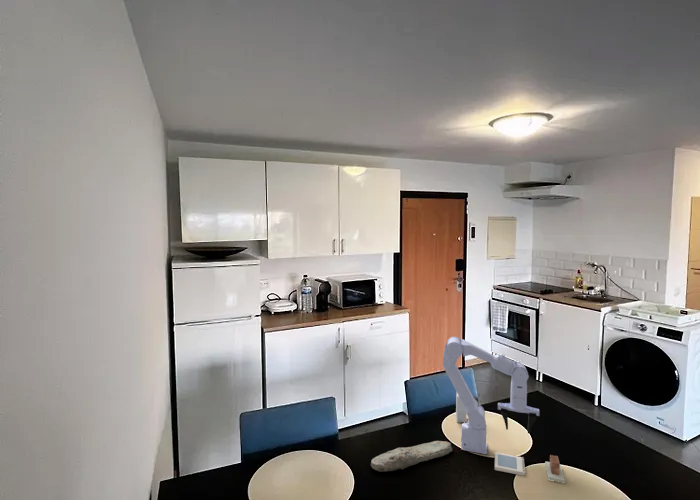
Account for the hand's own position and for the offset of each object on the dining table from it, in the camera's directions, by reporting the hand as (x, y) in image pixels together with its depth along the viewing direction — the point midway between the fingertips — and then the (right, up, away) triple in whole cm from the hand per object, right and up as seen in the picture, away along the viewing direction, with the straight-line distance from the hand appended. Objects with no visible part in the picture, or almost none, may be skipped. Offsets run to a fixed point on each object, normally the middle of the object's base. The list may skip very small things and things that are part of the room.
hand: (517, 430), depth 152 cm
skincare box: (-14, -8, +28) cm, 32 cm away
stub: (+8, -10, -12) cm, 18 cm away
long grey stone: (-41, -10, -3) cm, 42 cm away
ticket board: (-6, -10, -7) cm, 13 cm away
